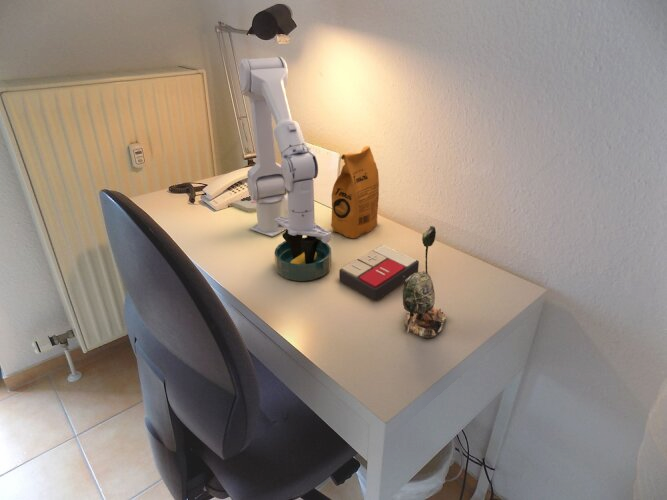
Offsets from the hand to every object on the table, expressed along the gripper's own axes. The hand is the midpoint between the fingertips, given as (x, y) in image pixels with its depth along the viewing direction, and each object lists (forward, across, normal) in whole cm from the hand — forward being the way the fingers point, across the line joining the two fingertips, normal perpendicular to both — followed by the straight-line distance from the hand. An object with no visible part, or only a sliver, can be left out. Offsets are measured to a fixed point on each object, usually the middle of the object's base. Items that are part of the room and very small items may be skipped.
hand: (303, 260), depth 101 cm
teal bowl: (+2, 0, 0) cm, 2 cm away
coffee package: (+2, -1, +24) cm, 24 cm away
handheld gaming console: (+2, -36, +23) cm, 43 cm away
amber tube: (+1, 0, 0) cm, 1 cm away
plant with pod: (+2, +32, -4) cm, 32 cm away
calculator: (+2, +17, +6) cm, 18 cm away
